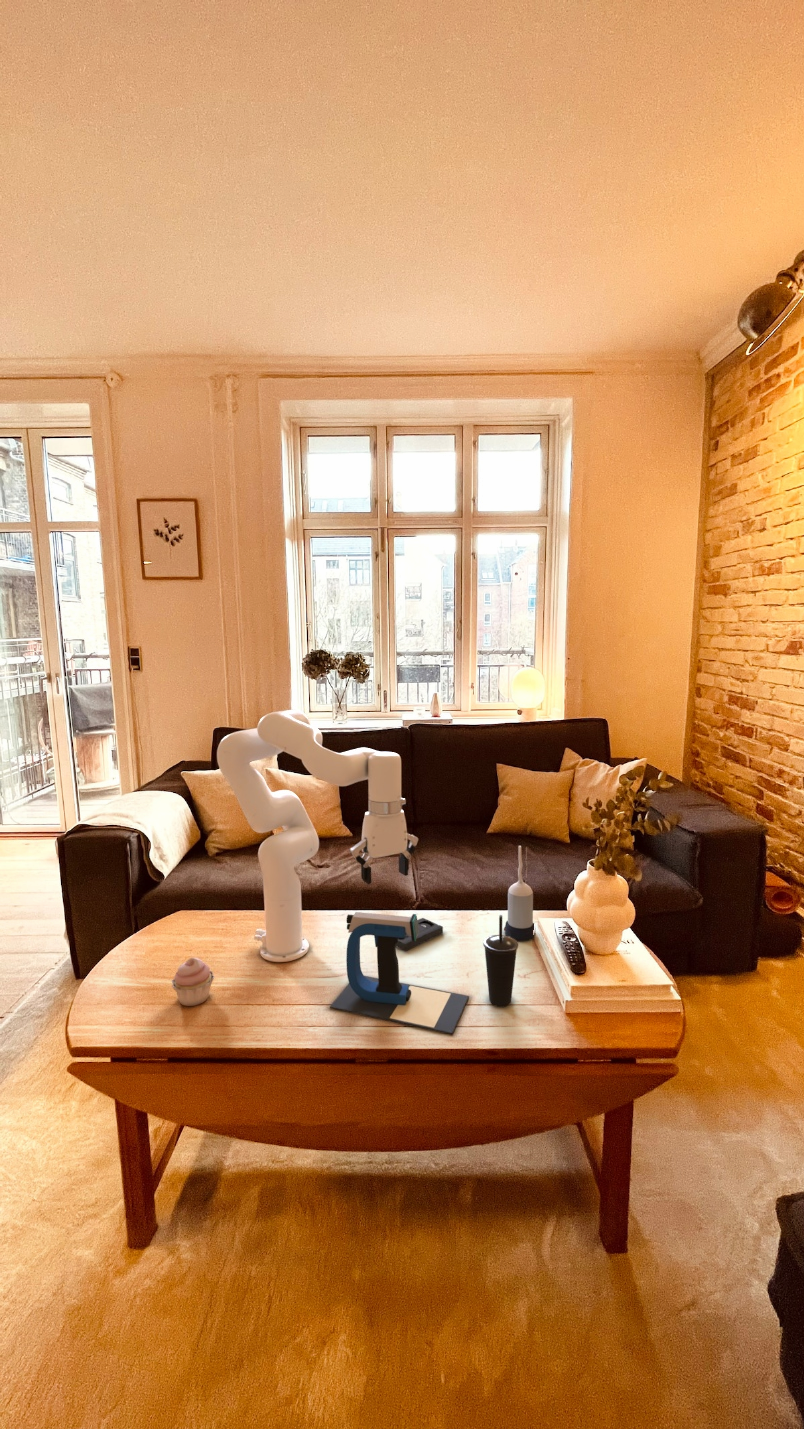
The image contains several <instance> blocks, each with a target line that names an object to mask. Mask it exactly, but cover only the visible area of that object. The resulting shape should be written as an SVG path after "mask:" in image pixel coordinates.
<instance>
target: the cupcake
mask: <svg viewBox="0 0 804 1429" xmlns="http://www.w3.org/2000/svg"><path fill="white" fill-rule="evenodd" d="M173 977H174V978H173V979H171V983H172V985H171V987H172V989H173V990H174V991H175V993H176V995H177V998H178V1002H179V1003H180V1004H181V1005H182V1006H185V1007H193V1006H199V1005H201V1004H204V1002H206V1000H208V998H209V996H210V991H211V987H212V983H213V981H214V979H215V976H214V971H213V970H210V966H209V965H208V964H207V963H206V962H204V961H203V960H201V959H200V958H198V957H190V958H189V959H187V961H185V962H183V963H181V964H180V965H179V966H178V968H177V970H176V973H175V975H174V976H173Z"/></svg>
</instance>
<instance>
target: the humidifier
mask: <svg viewBox="0 0 804 1429" xmlns="http://www.w3.org/2000/svg"><path fill="white" fill-rule="evenodd" d="M527 850H528V846H526V847H525V856H526V857H525V859H527V857H528V856H527V852H528V851H527ZM522 859H523V857H522V845H518V868H517V877H518V880H517V882H515V883H513V884H511V885H510V886H509V888H508V890H507V920H506V921H505V925H504V928H503V931H504V934H505V936H509V937H511V938H513V939H515V940H516V941H517V942H528V941H532V940H534V939H535V937H534V935H533V930H534V924H535V922H534V892H533V890H532V888H531V886H530V885H528V884H527V883H526V882H527V881H525V882H524V880H523V877H522V869H523V860H522ZM525 864H526V865H528V863H527V862H525ZM527 872H528V868H526V870H525V877H528V876H527Z"/></svg>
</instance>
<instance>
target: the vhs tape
mask: <svg viewBox="0 0 804 1429" xmlns="http://www.w3.org/2000/svg"><path fill="white" fill-rule="evenodd" d="M417 922H418V929H419V933H418V935H417V938H416V941H412V938H411V935H409V934H408V933H406V936H405V938H398V941H397V944H396V948H398V949H401V951H404V952H406V951H407V952H408V951H409V950H411V949H414V947H418V946H420V945H422V944H424V943H427V941H430V940H432V939H434V938H436V937H438V936H440V935H443V934H444V927H443V926H442V925H440V924H438V923H435V922H433V921H431V920H429V919H427V918H424V917H421V918H419V919H417Z"/></svg>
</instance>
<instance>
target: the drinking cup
mask: <svg viewBox="0 0 804 1429" xmlns="http://www.w3.org/2000/svg"><path fill="white" fill-rule="evenodd" d="M498 916H499V917H498V925H499V926H498V934H493V935H489V936H487V937H485V938H484V939H483V941H482V944H483V947H484V955H485V967H486V975H487V976H486V977H487V978H486V979H487V989H488V1001H489V1003H490V1004H491V1005H493V1006H494V1007H499V1008H505V1007H508V1006H510V1005H511V1003H512V999H513V998H512V997H513V988H514V987H513V986H514V978H515V970H516V969H515V968H516V960H517V950H518V948H519V941H516V940H515V939H513V938H511V937H509V936H506V934H505V935H504V934H503V915H502V914H499V915H498Z"/></svg>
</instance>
